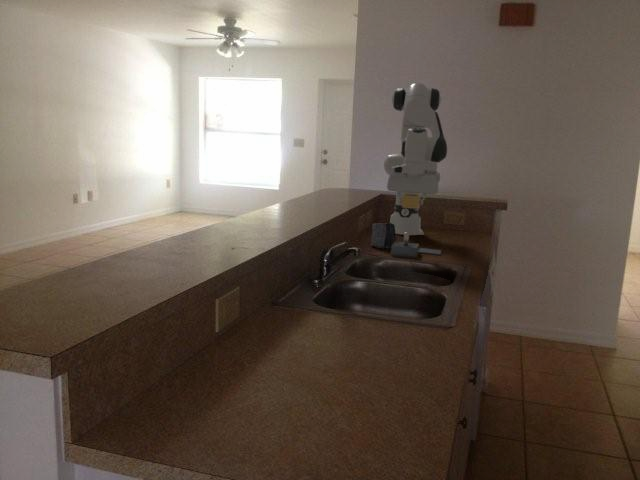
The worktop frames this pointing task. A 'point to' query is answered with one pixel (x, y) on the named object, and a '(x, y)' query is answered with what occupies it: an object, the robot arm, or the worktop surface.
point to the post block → (405, 248)
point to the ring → (411, 201)
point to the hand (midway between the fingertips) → (411, 203)
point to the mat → (429, 251)
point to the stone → (383, 235)
